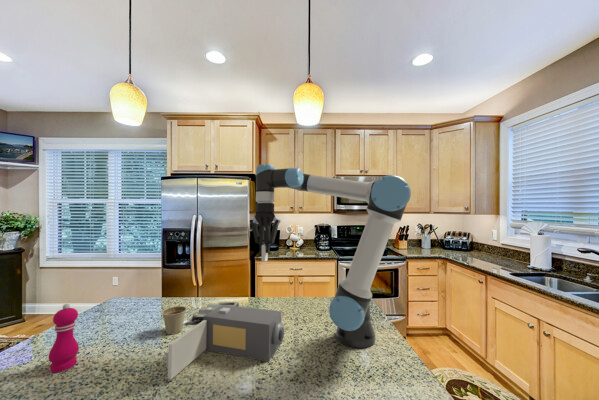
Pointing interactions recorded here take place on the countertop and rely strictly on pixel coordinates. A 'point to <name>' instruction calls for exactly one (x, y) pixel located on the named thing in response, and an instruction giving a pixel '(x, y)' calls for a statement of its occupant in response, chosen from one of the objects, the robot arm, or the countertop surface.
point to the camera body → (244, 331)
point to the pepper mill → (64, 340)
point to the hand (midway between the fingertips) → (264, 260)
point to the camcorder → (210, 309)
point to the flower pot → (174, 319)
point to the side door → (186, 349)
